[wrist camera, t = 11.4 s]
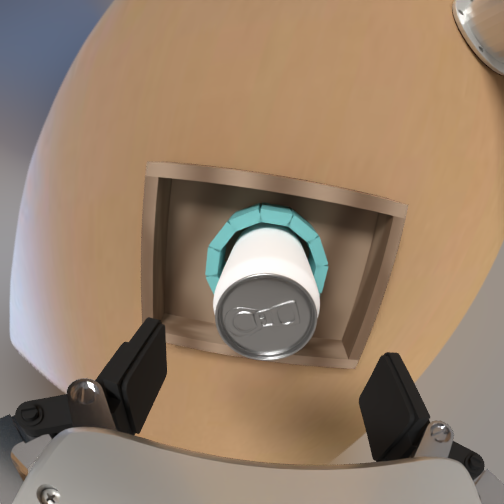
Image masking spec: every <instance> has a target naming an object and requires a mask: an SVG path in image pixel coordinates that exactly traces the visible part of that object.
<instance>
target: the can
mask: <svg viewBox="0 0 504 504" xmlns="http://www.w3.org/2000/svg"><path fill="white" fill-rule="evenodd" d="M213 308H214V314H215V323H216V327H217V330H218V333H219V335H220V336H221V338H222V340H223V341H224V342H225V343H226V344H227V345H228V346H229V347H230V348H231V349H232V350H234V351H235V352H237V353H238V354H240V355H242V356H245V357H247V358H250V359H254V360H261V361H271V360H278V359H282V358H286V357H288V356H291V355H293V354H294V353H296V352H298V351H299V350H300V349H302V348H303V347H304V346H305V345H306V344H307V343H308V342H309V340H310V339H311V337H312V336H313V334H314V331H315V329H316V325H317V318H318V315H319V310H320V297H319V292H318V288H317V285H316V282H315V279H314V276H313V273H312V270H311V268H310V265H309V262H308V260H307V257H306V255H305V252H304V249H303V247H302V245H301V242H300V240H299V239H298V237H297V236H296V234H295V233H294V232H293V231H292V230H291V229H289V228H288V227H286V226H283V225H277V224H270V223H264V222H260V223H257V224H254V225H252V226H250V227H248V228H247V229H246V230H244V231H243V232H242V233H241V235H240V236H239V237H238V239H237V241H236V243H235V245H234V247H233V249H232V251H231V254H230V256H229V258H228V260H227V262H226V265H225V267H224V269H223V272H222V274H221V276H220V279H219V281H218V284H217V286H216V289H215V293H214V299H213Z"/></svg>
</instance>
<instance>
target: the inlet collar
mask: <svg viewBox="0 0 504 504" xmlns="http://www.w3.org/2000/svg"><path fill="white" fill-rule="evenodd" d="M260 222H264V223H270V224H277V225H283V226H288V227H289V228H291V229H292V230H293V231H294V232H295V233H297V234H298V235H299V236H300V237H302V238H303V239H304V240H305V241H306V243H307V246H308V249H309V251H310V253H309V257H308V262H309V265H310V268H311V270H312V273H313V276H314V279H315V282H316V285H317V288H318V292H319V296H320V293H322V290H323V286H324V282H325V278H326V274H327V270H328V262H327V258H326V255H325V252H324V249H323V246H322V243H321V240H320V237H319V235H318V234H317V232H316V231H315V230H314V228H313V227H312V225H311V224H310V223H309V222H307V221H306V220H305V219H304V218H303V217H302V216H300V215H299V214H298V213H297V212H296V211H294V210H293V209H292V208H289V207H288V206H282V205H276V204H269V203H263V202H262V207H261V204H260V203H258V204H255V205H252V206H250V207H247V208H245V209H242V210H239V211H237V212H235V213H234V214H233V215H232V216H231V217H230V218H229V220H228V221H227V222H226V223H225V225H224V226H223V227H222V229H221V230H220V231H219V232H218V234H217V235H216V236H215V238H214V239H213V240H212V242H211V243H210V244H209V247H208V252H207V262H206V272H205V275H207V276H206V279H207V281H208V284H209V286H210V288H211V290H212V292H213V294H214V293H215V289H216V286H217V284H218V281H219V279H220V276H221V274H222V272H223V269H224V267H225V265H226V262H225V252H226V244H227V242H228V241H229V239H230V238H231V237H232V236H233V234H234V233H235V232H236V231H238V230H241V229H244V228H246V227H249V226H252V225H254V224H257V223H260Z"/></svg>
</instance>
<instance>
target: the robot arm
mask: <svg viewBox="0 0 504 504" xmlns="http://www.w3.org/2000/svg"><path fill="white" fill-rule="evenodd" d="M452 9H453V15H454V18H455V21H456V23H457V25H458V28H459V30H460V31H461V33H462V35H463V37H464V38H465V40H466V41H467V43H468V44H469V46H470V47H471V48H472V50H473V51H474V52H475V53H476V55H477V56H478V57H479V58H480V59H481V60H482V61H483V62H484V63H485V64H486V65H487V66H488V67H490V68H491V69H492V70H493V71H495V72H497V73H498V74H501V75H504V0H454V2H453V7H452ZM166 374H167V360H166V331H165V325H164V324H162V322H161V320H158V319H154V318H150V317H148V318H147V319H146V320H145V321H144V323H143V324H142V325H141V327H140V328H139V329H138V331H137V332H136V333H135V335H134V336H133V337H132V339H131V340H130V341H129V342H124V343H123V344H122V345H121V346H120V347H119V349H118V350H117V351H116V353H115V354H114V355H113V357H112V358H111V360H110V361H109V362H108V364H107V365H106V366H105V368H104V369H103V370H102V372H101V373H100V375H99V376H98V377H97V379H96V380H95V381H94V380H92V379H87V378H86V379H78V380H76V381H74V382H72V383H71V384H70V385H69V387H68V389H67V394H65V395H60V396H55V397H50V398H44V399H38V400H32V401H27V402H24V403H22V404H21V405H20V406H19V407H18V408H17V410H16V413H15V415H14V416H12V417H11V415H10V414H9V415H7V416H5V417H2V418H0V502H1V504H504V484H503V483H502V482H501V481H500V480H499V479H498V478H497V477H496V476H495V475H494V474H492V473H491V472H490V471H489V470H488V469H486V470H484V461H483V459H482V457H481V456H480V455H478V454H477V453H475V452H473V451H471V450H470V449H468V448H466V447H464V446H462V445H460V444H458V443H456V442H454V441H453V439H454V433H453V430H452V429H451V427H450V426H449V425H448V424H446V423H445V422H442V421H432V422H431V423H430V421H429V418H430V415H429V413H428V411H427V409H426V407H425V405H424V402H423V401H422V398H421V396H420V394H419V392H418V390H417V388H416V386H415V384H414V382H413V380H412V378H411V376H410V374H409V372H408V370H407V368H406V366H405V364H404V363H403V361H402V359H401V357H400V355H399V354H398V353H389V352H387V353H385V354H384V355H382V356H381V357H380V359H379V361H378V363H377V365H376V367H375V369H374V371H373V373H372V375H371V377H370V379H369V381H368V382H367V384H366V386H365V388H364V390H363V392H362V394H361V395H360V398H359V405H360V409H361V413H362V416H363V420H364V424H365V428H366V432H367V436H368V440H369V444H370V448H371V452H372V457H373V459H374V460H375V461H376V462H372V463H360V464H344V465H294V464H277V463H265V462H255V461H247V460H240V459H233V458H226V457H220V456H215V455H209V454H204V453H200V452H195V451H191V450H186V449H182V448H178V447H174V446H170V445H166V444H162V443H159V442H155V441H152V440H148V439H145V438H141V437H137V436H134V435H135V433H137V434H139V433H140V431H141V429H142V427H143V425H144V423H145V420H146V418H147V416H148V414H149V412H150V410H151V407H152V405H153V403H154V401H155V399H156V397H157V395H158V392H159V390H160V388H161V386H162V384H163V382H164V380H165V377H166ZM37 457H38V458H37ZM35 461H36V462H35ZM33 462H35V463H34V465H33V466H32V468H31V470H30V471H29V473H28V468H29V466H30V465H31V464H32V463H33Z"/></svg>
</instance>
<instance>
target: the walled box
mask: <svg viewBox="0 0 504 504" xmlns="http://www.w3.org/2000/svg"><path fill="white" fill-rule="evenodd" d="M262 202H263V203H269V204H276V205H282V206H288V207H289V208H292V209H293V210H294V211H296V212H297V213H298V214H299V215H300V216H302V217H303V218H304V219H305V220H306V221H307V222H309V223H310V224H311V225H312V227H313V228H314V230H315V231H316V232H317V234H318V235H319V237H320V240H321V243H322V246H323V249H324V252H325V255H326V258H327V262H328V270H327V274H326V278H325V282H324V286H323V290H322V293H320V296H319V297H320V310H319V315H318V318H317V325H316V329H315V331H314V334H313V336H312V337H311V339H310V340H309V342H308V343H307V344H306V345H305V346H304V347H303V348H302V349H300V350H299V351H298V352H296V353H294V354H293V355H291V356H288V357H286V358H282V359H278V360H271V361H270V362H278V363H287V364H296V365H306V366H318V367H332V368H349V369H355V368H356V366H357V363H358V361H359V359H360V356H361V354H362V352H363V349H364V347H365V345H366V342H367V340H368V337H369V335H370V332H371V330H372V327H373V324H374V322H375V319H376V316H377V314H378V311H379V308H380V305H381V302H382V299H383V297H384V294H385V291H386V287H387V284H388V281H389V278H390V275H391V272H392V268H393V265H394V261H395V258H396V254H397V251H398V247H399V243H400V239H401V235H402V231H403V227H404V223H405V218H406V214H407V209H408V205H406V204H403V203H400V202H397V201H394V200H391V199H388V198H384V197H380V196H376V195H372V194H368V193H364V192H359V191H355V190H351V189H346V188H341V187H337V186H332V185H327V184H322V183H317V182H312V181H307V180H301V179H296V178H290V177H284V176H278V175H272V174H266V173H259V172H253V171H246V170H238V169H231V168H223V167H215V166H206V165H196V164H186V163H175V162H147V166H146V175H145V186H144V199H143V214H142V237H141V303H142V324H143V323H144V321H145V320H146V319H147V318H148V317H150V318H154V319H158V320H161V322H162V324H164V325H165V331H166V343H170V344H175V345H179V346H184V347H188V348H193V349H198V350H203V351H208V352H213V353H219V354H224V355H230V356H236V357H242V358H247V357H245V356H242V355H240V354H238V353H237V352H235V351H234V350H232V349H231V348H230V347H229V346H228V345H227V344H226V343H225V342H224V341H223V340H222V338H221V336H220V335H219V333H218V330H217V327H216V323H215V314H214V308H213V299H214V294H213V292H212V290H211V288H210V286H209V284H208V281H207V279H206V276H207V275H205V272H206V262H207V252H208V247H209V244H210V243H211V242H212V240H213V239H214V238H215V236H216V235H217V234H218V232H219V231H220V230H221V229H222V227H223V226H224V225H225V223H226V222H227V221H228V220H229V218H230V217H231V216H232V215H233V214H234V213H235V212H237V211H239V210H242V209H245V208H247V207H250V206H252V205H255V204H258V203H260V204H261V207H262ZM249 227H250V226H249ZM286 227H288V226H286ZM247 228H248V227H246V228H244V229H241V230H238V231H236V232H235V233H234V234H233V236H232V237H231V238H230V239H229V241H228V242H227V244H226V252H225V262H227V260H228V258H229V256H230V254H231V251H232V249H233V247H234V245H235V243H236V241H237V239H238V237H239V236H240V235H241V233H242V232H243V231H244V230H246V229H247ZM288 228H289V227H288ZM289 229H291V228H289ZM291 230H292V229H291ZM292 231H293V230H292ZM293 232H294V231H293ZM294 233H295V232H294ZM295 234H296V236H297V237H298V239H299V240H300V242H301V245H302V247H303V249H304V252H305V255H306V257H307V260H308V257H309V253H310V251H309V249H308V246H307V243H306V241H305V240H304V239H303V238H302V237H300V236H299V235H298V234H297V233H295ZM249 359H250V358H249Z"/></svg>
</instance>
